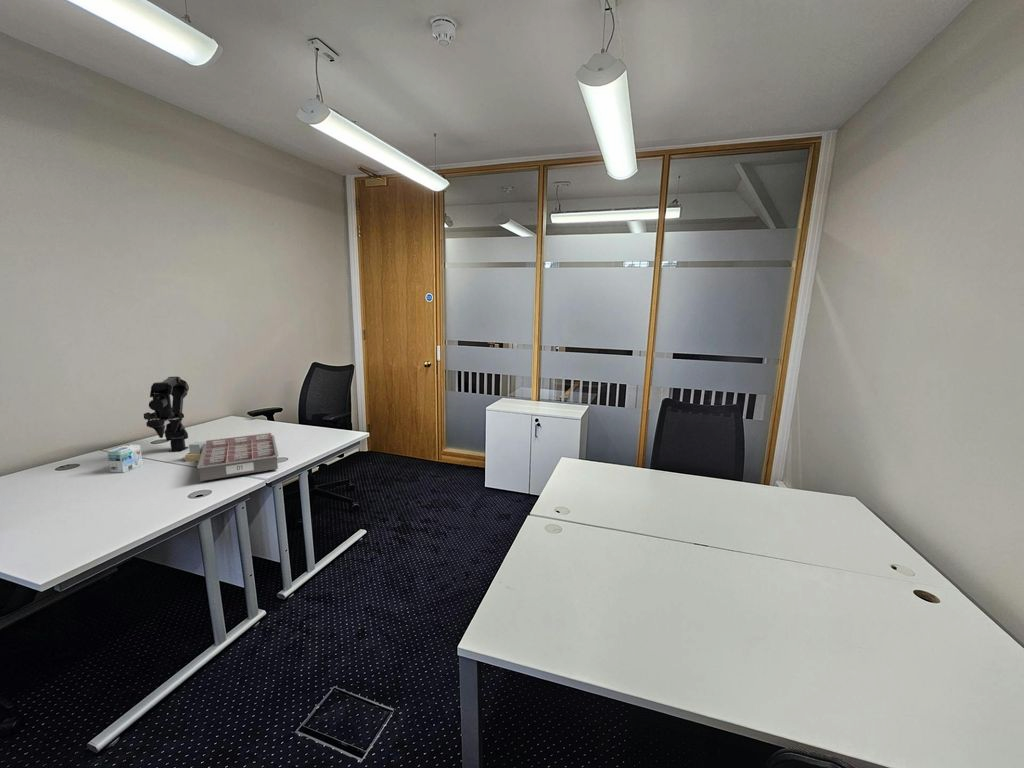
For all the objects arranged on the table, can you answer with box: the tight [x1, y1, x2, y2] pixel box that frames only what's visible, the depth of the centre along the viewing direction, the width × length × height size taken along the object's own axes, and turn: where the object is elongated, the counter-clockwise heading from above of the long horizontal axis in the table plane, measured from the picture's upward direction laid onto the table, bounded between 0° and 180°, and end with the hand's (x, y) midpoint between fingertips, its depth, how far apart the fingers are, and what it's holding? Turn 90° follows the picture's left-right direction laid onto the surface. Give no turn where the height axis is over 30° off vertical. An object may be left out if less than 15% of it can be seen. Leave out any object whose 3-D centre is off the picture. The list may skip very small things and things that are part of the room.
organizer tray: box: [196, 432, 279, 482], centre depth 210 cm, size 32×40×10 cm
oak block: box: [184, 452, 201, 463], centre depth 217 cm, size 8×8×4 cm
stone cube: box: [188, 441, 206, 454], centre depth 216 cm, size 5×5×5 cm
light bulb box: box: [107, 443, 144, 474], centre depth 201 cm, size 11×7×11 cm, turn 179°
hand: (167, 435), depth 217 cm, fingers open, 9 cm apart
